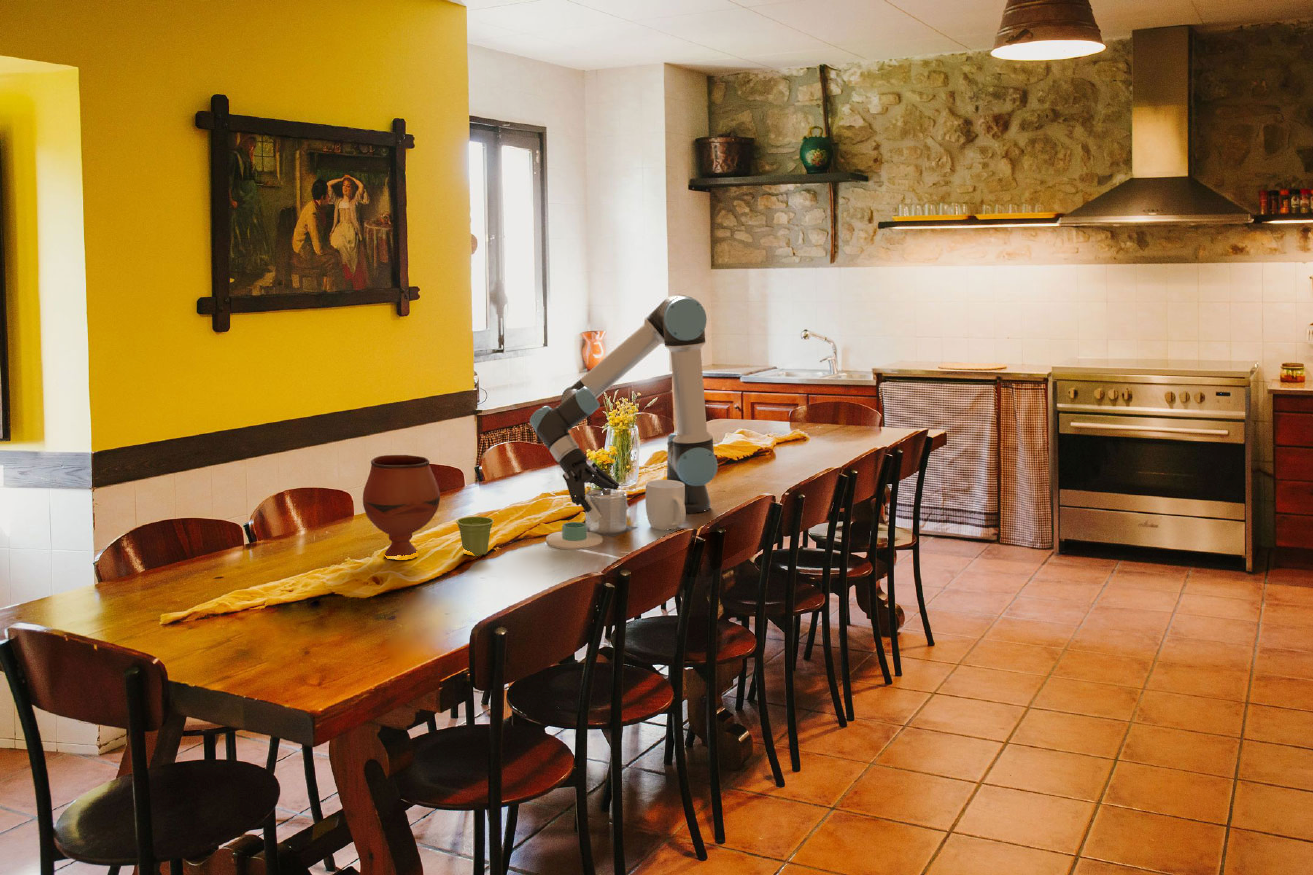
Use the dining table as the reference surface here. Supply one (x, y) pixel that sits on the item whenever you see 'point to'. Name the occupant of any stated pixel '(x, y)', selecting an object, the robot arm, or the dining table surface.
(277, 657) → the dining table surface
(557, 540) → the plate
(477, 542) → the plant pot
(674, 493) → the mug
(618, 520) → the cover
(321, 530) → the dining table surface
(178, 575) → the dining table surface
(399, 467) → the goblet
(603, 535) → the mat
